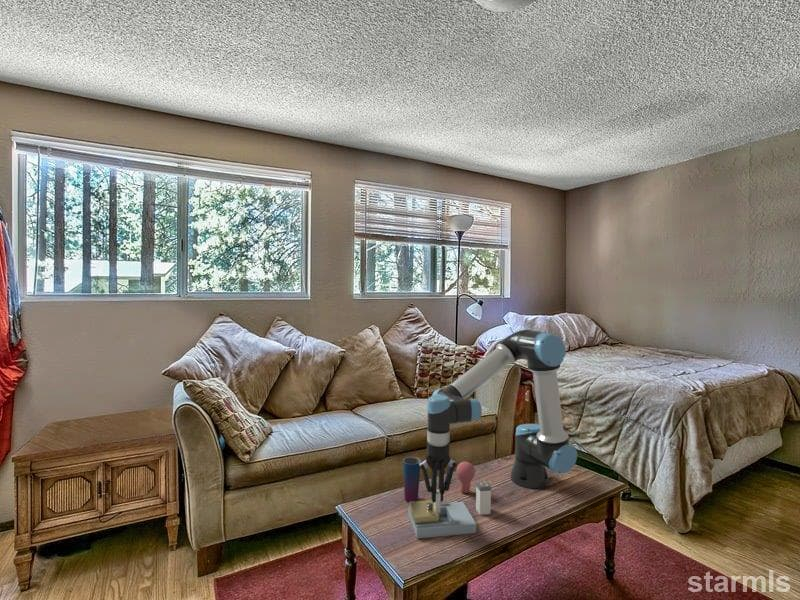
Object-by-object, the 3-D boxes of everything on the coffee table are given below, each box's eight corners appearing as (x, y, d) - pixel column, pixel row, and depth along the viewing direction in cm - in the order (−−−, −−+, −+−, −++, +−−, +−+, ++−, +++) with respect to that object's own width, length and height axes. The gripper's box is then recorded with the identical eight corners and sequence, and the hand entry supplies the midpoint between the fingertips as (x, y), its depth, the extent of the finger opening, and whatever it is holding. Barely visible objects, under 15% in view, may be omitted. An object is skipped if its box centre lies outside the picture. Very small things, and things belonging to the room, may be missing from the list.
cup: (406, 505, 153) (407, 465, 152) (399, 496, 159) (399, 458, 158) (423, 501, 155) (423, 462, 155) (415, 493, 162) (416, 455, 161)
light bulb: (474, 498, 159) (474, 467, 158) (455, 495, 160) (455, 465, 160) (474, 489, 166) (475, 459, 165) (456, 487, 167) (457, 457, 166)
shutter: (431, 506, 146) (431, 496, 146) (438, 523, 136) (438, 512, 136) (409, 508, 145) (409, 498, 144) (414, 525, 135) (415, 514, 135)
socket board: (462, 509, 150) (462, 500, 150) (476, 532, 136) (476, 522, 136) (408, 514, 147) (408, 504, 147) (416, 538, 133) (416, 527, 133)
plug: (486, 507, 152) (486, 480, 151) (490, 513, 148) (491, 485, 147) (475, 508, 151) (476, 481, 151) (479, 514, 147) (480, 486, 147)
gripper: (453, 437, 145) (452, 503, 146) (417, 439, 143) (416, 506, 144) (460, 445, 138) (458, 515, 138) (421, 447, 135) (420, 518, 136)
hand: (437, 510), depth 141 cm, fingers closed
